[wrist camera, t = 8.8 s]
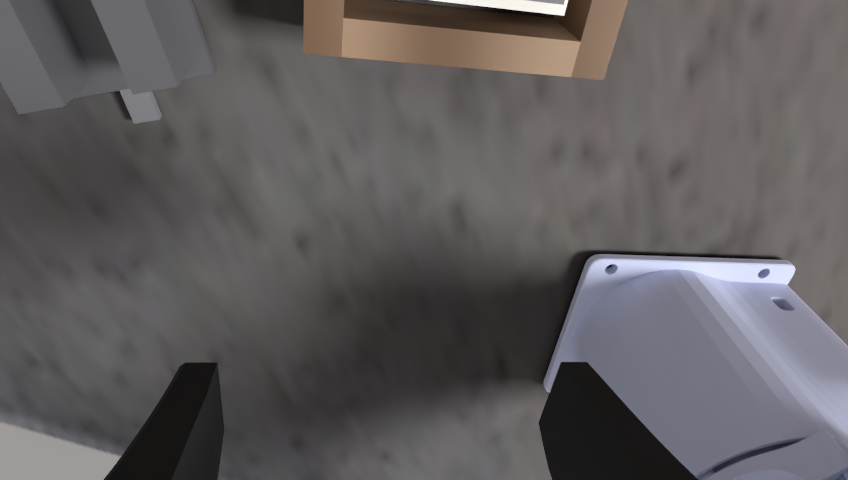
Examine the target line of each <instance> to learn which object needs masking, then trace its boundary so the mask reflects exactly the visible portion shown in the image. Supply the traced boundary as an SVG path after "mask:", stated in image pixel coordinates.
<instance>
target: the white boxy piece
mask: <svg viewBox="0 0 848 480" xmlns="http://www.w3.org/2000/svg"><path fill="white" fill-rule="evenodd" d="M432 1H441V2H449V3H458V4H467V5H475V6H484V7H492V8H501V9H510V10H518V11H527V12H535V13H544V14H553V15H561V16H564V15H565V11H566V7H567V3H568V0H432Z"/></svg>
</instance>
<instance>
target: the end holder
mask: <svg viewBox="0 0 848 480" xmlns="http://www.w3.org/2000/svg"><path fill="white" fill-rule="evenodd" d="M627 2H628V0H568V3H567V7H566V11H565V15H564V16H561V15H554V17H553V18H548V17H539V16H530V15H520V14H511V13H502V12H492V11H483V10H473V9H464V8H455V7H445V6H436V5H426V4H417V3H408V2H398V1H389V0H304V29H303V53H304V54H315V55H326V56H338V57H349V58H360V59H372V60H383V61H394V62H405V63H417V64H428V65H439V66H451V67H462V68H473V69H485V70H496V71H507V72H519V73H530V74H541V75H552V76H564V77H575V78H586V79H598V80H604V77H605V74H606V71H607V67H608V64H609V61H610V58H611V54H612V51H613V48H614V45H615V41H616V38H617V35H618V32H619V28H620V25H621V22H622V19H623V15H624V12H625V9H626V6H627Z"/></svg>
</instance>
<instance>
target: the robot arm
mask: <svg viewBox="0 0 848 480" xmlns="http://www.w3.org/2000/svg"><path fill="white" fill-rule="evenodd" d="M611 264H613V265H612V266H611V267H610V268H607V269H606V267H607V266H609V265H611ZM761 270H762V271H761ZM794 272H795V267H794V266H793V265H792V264H791V263H790V262H789V261H787V260H769V259H738V258H708V257H677V256H646V255H616V254H597V255H594V256H591V257H590V258H589V259H588V260H587V261H586V263H585V266H584V268H583V271H582V274H581V277H580V280H579V283H578V285H577V288H576V291H575V294H574V297H573V300H572V302H571V305H570V308H569V311H568V314H567V317H566V319H565V322H564V325H563V328H562V331H561V334H560V336H559V339H558V342H557V345H556V348H555V351H554V353H553V356H552V359H551V362H550V365H549V368H548V370H547V373H546V376H545V379H544V383H543V384H544V387H545V389H546V391H547V392H549V396H548V399H547V401H546V404H545V407H544V410H543V412H542V415H541V418H540V420H539V426H540V431H541V436H542V441H543V446H544V450H545V455H546V459H547V463H548V467H549V471H550V474H551V477H552V480H848V346H847V345H846V344H845V343H844V342H843V341H842V340H841V339H840V338H839V337H838V336H837V335H836V334H835V333H834V332H833V331H832V330H831V329H830V328H829V327H828V326H827V325H826V324H825V323H824V322H823V321H822V320H821V319H820V318H819V317H818V315H817V314H816V313H815V312H814V311H813V310H812V309H811V308H810V307H809V306H808V305H807V304H806V303H805V302H804V301H803V300H802V299H801V298H800V297H799V296H798V295H797V294H796V293H795V292H794V291H793V290H792V289H791V288H790V287H789V286H788V285H787V284H788V283H789V281H790V280H791V278H792V276H793V275H794ZM223 434H224V423H223V413H222V403H221V393H220V383H219V373H218V363H184V364H183V365H181V366H180V367H179V369H178V371H177V373H176V374H175V376H174V378H173V380H172V381H171V383H170V385H169V386H168V388H167V390H166V391H165V393H164V395H163V396H162V398H161V399H160V401H159V403H158V404H157V406H156V407H155V409H154V410H153V412H152V413H151V415H150V416H149V418H148V419H147V421H146V423H145V424H144V425H143V427H142V428H141V430H140V431H139V433H138V434H137V435H136V437H135V438H134V440H133V441H132V442H131V444H130V445H129V447H128V448H127V449H126V451H125V452H124V454H123V455H122V457H121V458H120V459H119V461H118V462H117V464H116V465H115V466H114V467H113V469H112V470H111V471H110V473H109V474H108V475H107V476H106V477H105V479H104V480H217V478H218V471H219V464H220V457H221V449H222V441H223Z"/></svg>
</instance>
